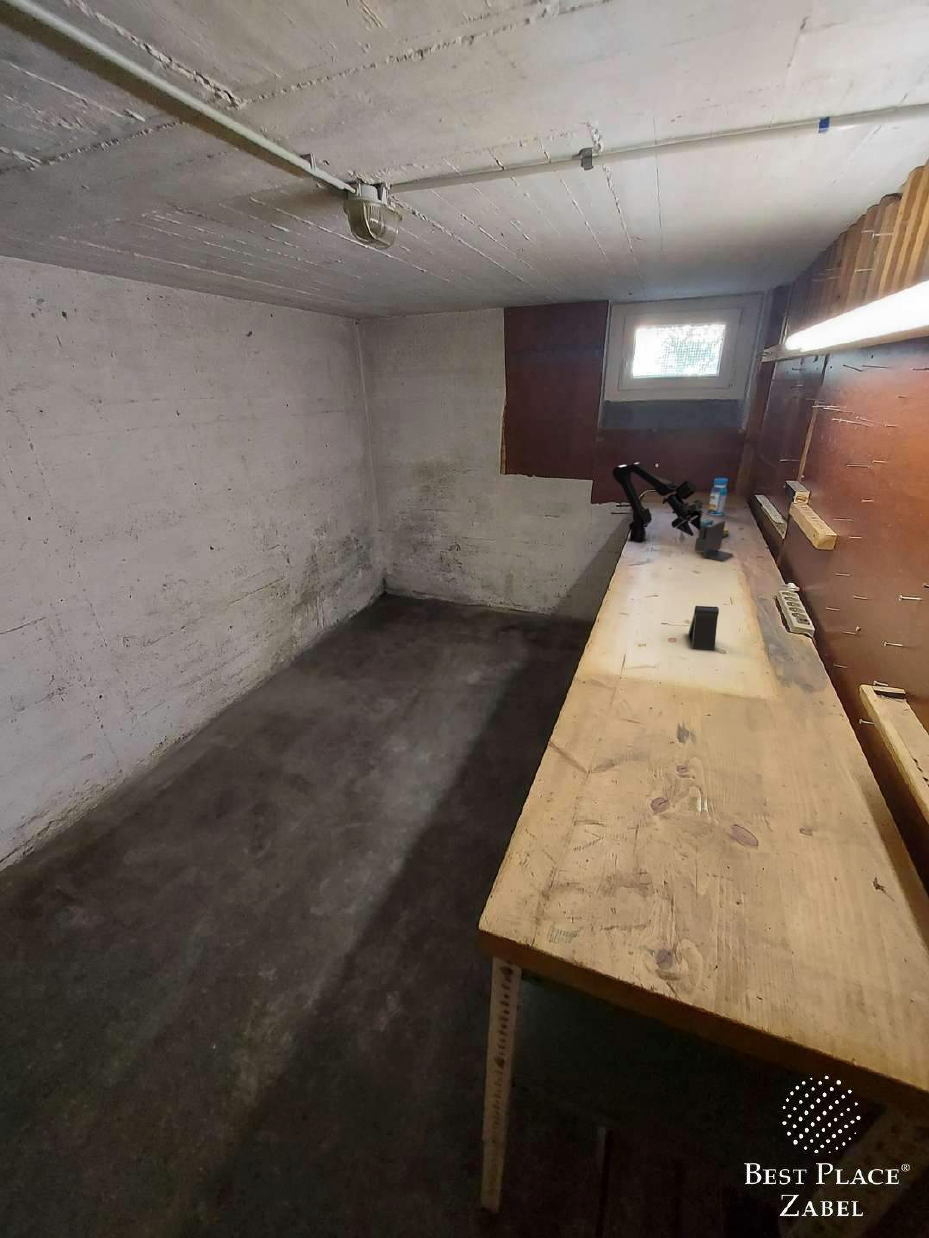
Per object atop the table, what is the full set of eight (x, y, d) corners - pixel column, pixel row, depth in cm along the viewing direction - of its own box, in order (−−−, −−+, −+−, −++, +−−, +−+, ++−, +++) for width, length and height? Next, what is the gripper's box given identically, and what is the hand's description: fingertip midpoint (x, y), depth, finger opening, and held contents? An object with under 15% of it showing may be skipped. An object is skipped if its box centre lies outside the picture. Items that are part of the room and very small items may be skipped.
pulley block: (697, 531, 230) (701, 516, 254) (693, 542, 233) (698, 526, 257) (729, 538, 225) (730, 522, 249) (724, 549, 228) (726, 533, 251)
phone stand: (687, 635, 152) (693, 600, 147) (708, 636, 151) (715, 601, 146) (692, 648, 145) (698, 612, 139) (714, 650, 143) (721, 614, 138)
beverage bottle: (723, 516, 276) (730, 480, 267) (707, 515, 278) (713, 480, 270) (722, 512, 283) (728, 477, 274) (706, 512, 286) (712, 477, 277)
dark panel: (690, 556, 218) (696, 525, 211) (705, 549, 226) (710, 518, 219) (720, 562, 209) (726, 530, 202) (734, 555, 217) (740, 523, 210)
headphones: (694, 550, 219) (699, 522, 214) (701, 546, 223) (706, 518, 218) (703, 552, 216) (708, 523, 211) (710, 548, 220) (715, 520, 215)
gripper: (681, 498, 210) (702, 527, 207) (702, 491, 221) (722, 519, 218) (662, 513, 219) (682, 541, 216) (682, 506, 230) (702, 532, 227)
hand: (697, 533), depth 219 cm, fingers open, 9 cm apart
